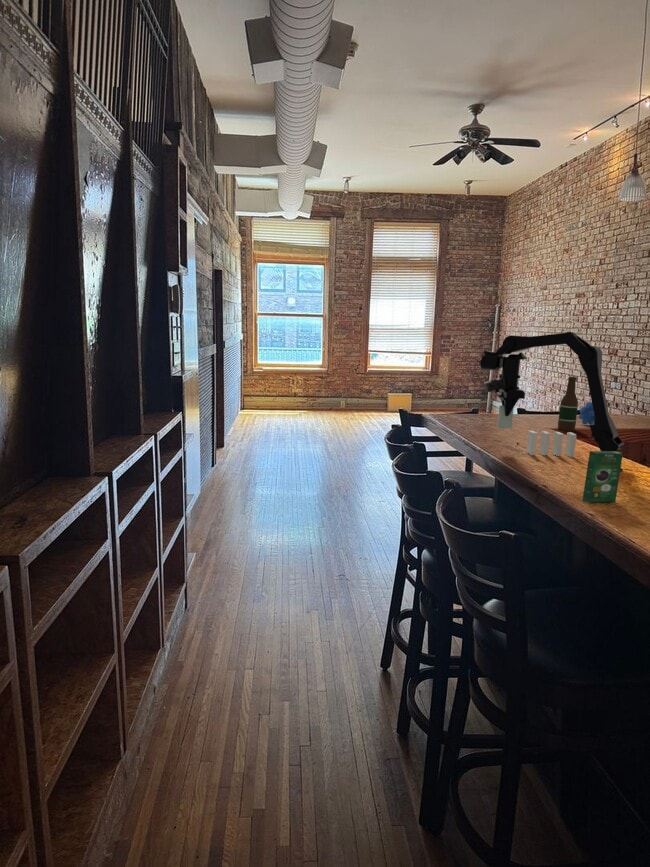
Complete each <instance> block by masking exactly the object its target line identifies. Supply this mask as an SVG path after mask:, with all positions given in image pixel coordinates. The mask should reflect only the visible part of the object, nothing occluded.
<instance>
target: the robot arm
mask: <svg viewBox="0 0 650 867" xmlns="http://www.w3.org/2000/svg"><path fill="white" fill-rule="evenodd" d="M559 345H567V347H568V348H570V349H571V351H573V353H574V354H576V355H577V358H578V360H579V363H580V365H581V367H582V370H583V371H584V373H585V376H586V379H587V385H588V390H589V393H590V398H591V399H590V400H591V403H592V405H593V411H594V416H595V421H594V423H593V424H590V425H589V430H590V432H591V438H593V440H594V442H595V443H596V444H598V449H599V451H616V452H620V453H622V452H621V451H622V450H621V449H622V448H623V446H624V445H625V442H624V441H623V440H622V439H621V437H620V436H619V434H618V430H617V428H616V425H615V422H614V421H613V420H612V417H611V416H610V413H609V407H608V404H607V403H608V402H607V397H606V391H605V387H604V382H603V377H602V366H603V351H602V349H601V348H600V347H598V346H597V345H591V344H590V343H588V342H587V341H586V340H585V339H583V338H581V337H580V336H578V334H577V333H576V332H575V331H566V332H561V333H552V334H545V335H535V336H534V335H533V336H525V335H507V336H506V337H505V338H504V339H503V341H502V344H501V345H500V347H499V348H498V349H496V351H491V350H484V351H483V355H482V356H481V359H480V360H479V361H480V362H479V363H480V364H479V365H480V369H481V370H484V371H485V370H486V371H497V372H499V370H500V369H502V370H501V373H499V376H498V377H497V378H494V379H490V380H488V381H484V382H483V385H484V389H485V391H486V392H487V393H491V392H492V393H494V394H496V393H498V394H496V396H497V397H498V398H499V400H500V401H501V406H505V416H509V414H510V413H511V411H512V409H513V408H514V407H515V406H516V404H517V403H518V401H519V400H522V399H523V400H524V399H526V392H524V390H522V389H520V387H519V379H521V375H520V369H521V368H520V367H521V366H520V365H521V360H527V359H528V358H527V356H526V355H525V354H524V353H523V352H522V351H527V350H529V349H532V348H540V347H548V346H549V347H550V346H559ZM515 353H516V354H515ZM517 353H518V354H517ZM505 355H508V356H505ZM513 410H514V409H513ZM623 470H624V468H622V467H621V469H620V472H621V471H623Z"/></svg>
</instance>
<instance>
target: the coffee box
mask: <svg viewBox="0 0 650 867" xmlns="http://www.w3.org/2000/svg"><path fill="white" fill-rule="evenodd" d="M623 456H624V454H623V452H616V451H601V450H589V452H588V460H587V466H586V467H587V468H586V473H585V474H586V475H585V482H584V487H583V488H584V489H583V495H582V501H583V502H585V503H588V504H589V503H591V504H592V503H594V504H595V503H597V504H598V503H616V500H617V494H618V486H619V480H620V474H621V471H620V469H621V468H622V463H623V462H622V461H623Z"/></svg>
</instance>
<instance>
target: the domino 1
mask: <svg viewBox="0 0 650 867" xmlns="http://www.w3.org/2000/svg"><path fill="white" fill-rule="evenodd" d="M513 417H514V408H513V409H512V411H511V413H510V414H509V416H505V406H502V404H501V405H499V408H498V415H497V424H496V425H497V429H505V430H506V429H507V430H508V429H509V430H511V429H512V425H513Z"/></svg>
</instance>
